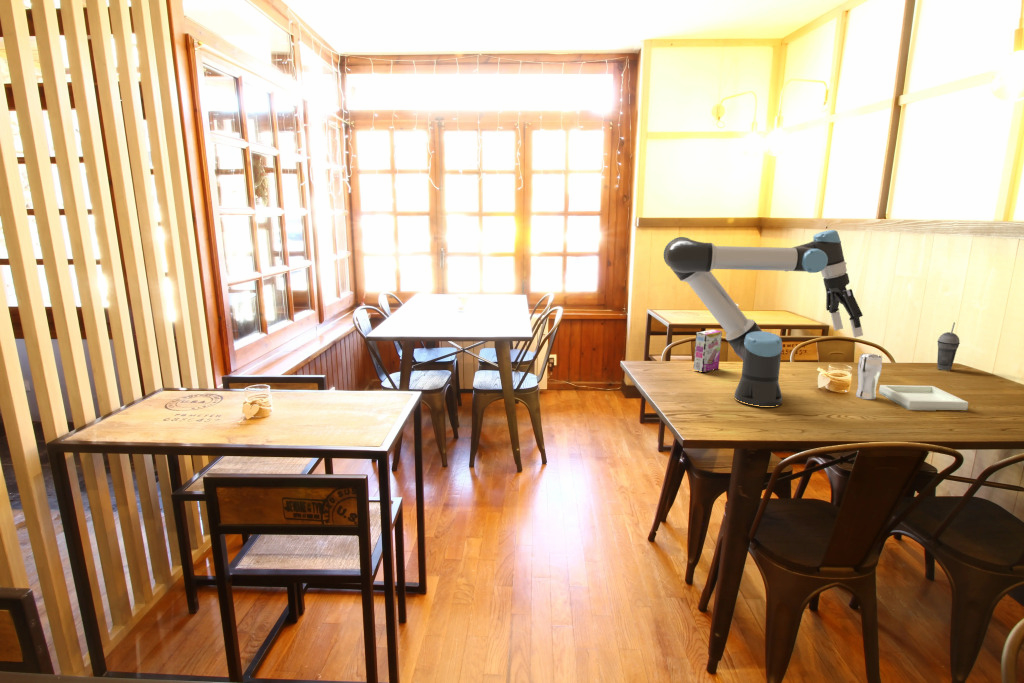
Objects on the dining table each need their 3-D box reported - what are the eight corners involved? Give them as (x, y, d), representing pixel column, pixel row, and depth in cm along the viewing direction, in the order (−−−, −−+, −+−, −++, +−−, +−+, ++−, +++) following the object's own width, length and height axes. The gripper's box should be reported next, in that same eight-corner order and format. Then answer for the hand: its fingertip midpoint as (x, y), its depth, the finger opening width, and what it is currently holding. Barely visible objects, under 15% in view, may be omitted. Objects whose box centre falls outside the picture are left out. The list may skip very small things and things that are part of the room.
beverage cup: (945, 367, 235) (953, 320, 230) (959, 371, 228) (968, 323, 223) (928, 367, 234) (936, 320, 230) (942, 372, 227) (950, 323, 223)
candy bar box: (703, 373, 228) (705, 334, 224) (692, 371, 232) (695, 332, 228) (719, 369, 234) (722, 330, 231) (709, 366, 238) (712, 328, 235)
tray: (908, 409, 184) (909, 401, 184) (878, 392, 202) (879, 384, 201) (966, 411, 183) (968, 402, 182) (931, 393, 200) (933, 385, 200)
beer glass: (881, 398, 196) (887, 357, 193) (867, 401, 193) (873, 359, 190) (863, 392, 202) (868, 352, 199) (849, 395, 200) (854, 354, 196)
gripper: (865, 274, 181) (879, 336, 184) (828, 269, 206) (841, 323, 209) (841, 281, 182) (855, 342, 185) (808, 275, 207) (821, 329, 210)
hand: (848, 332), depth 197 cm, fingers open, 13 cm apart
